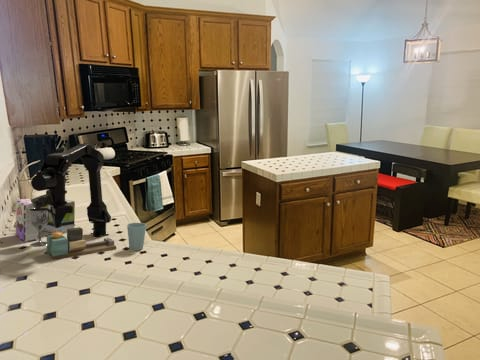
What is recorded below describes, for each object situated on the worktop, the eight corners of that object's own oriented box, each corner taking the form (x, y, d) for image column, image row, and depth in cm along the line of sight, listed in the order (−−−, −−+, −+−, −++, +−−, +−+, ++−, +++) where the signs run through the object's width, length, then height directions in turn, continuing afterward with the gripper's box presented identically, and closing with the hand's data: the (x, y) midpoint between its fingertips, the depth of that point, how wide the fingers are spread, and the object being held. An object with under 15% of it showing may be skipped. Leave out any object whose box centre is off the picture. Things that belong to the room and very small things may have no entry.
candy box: (15, 235, 161) (14, 199, 160) (29, 233, 166) (29, 198, 164) (24, 242, 152) (23, 204, 150) (39, 240, 156) (39, 203, 154)
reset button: (50, 236, 138) (50, 233, 138) (60, 235, 140) (60, 231, 140) (53, 238, 135) (53, 235, 135) (63, 237, 138) (63, 233, 138)
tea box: (75, 231, 174) (75, 201, 172) (55, 235, 165) (55, 203, 164) (57, 225, 182) (57, 196, 180) (37, 229, 173) (37, 199, 171)
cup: (142, 245, 157) (143, 222, 156) (147, 250, 150) (148, 226, 149) (125, 247, 153) (125, 223, 152) (129, 252, 146) (129, 227, 145)
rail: (46, 252, 141) (46, 235, 140) (106, 243, 157) (106, 227, 156) (54, 259, 133) (54, 241, 133) (116, 249, 150) (116, 232, 149)
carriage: (63, 247, 143) (63, 227, 143) (79, 245, 147) (79, 226, 147) (69, 252, 138) (69, 231, 137) (85, 249, 142) (85, 229, 142)
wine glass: (35, 248, 145) (35, 211, 144) (25, 244, 149) (24, 208, 148) (54, 243, 152) (54, 209, 150) (44, 240, 156) (43, 206, 154)
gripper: (26, 185, 137) (27, 225, 139) (40, 192, 123) (40, 236, 125) (58, 184, 145) (58, 222, 146) (73, 190, 131) (73, 232, 133)
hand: (56, 227), depth 137 cm, fingers closed
